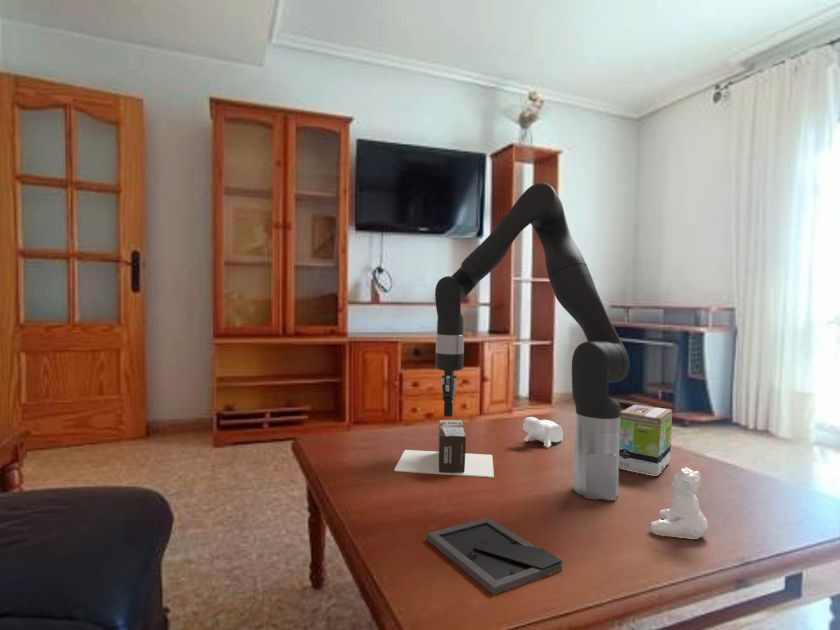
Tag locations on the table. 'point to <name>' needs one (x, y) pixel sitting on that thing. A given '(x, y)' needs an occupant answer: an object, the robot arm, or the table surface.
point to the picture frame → (494, 554)
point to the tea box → (645, 439)
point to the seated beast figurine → (683, 509)
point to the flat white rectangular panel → (430, 464)
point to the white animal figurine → (542, 430)
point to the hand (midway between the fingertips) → (448, 415)
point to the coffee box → (451, 446)
